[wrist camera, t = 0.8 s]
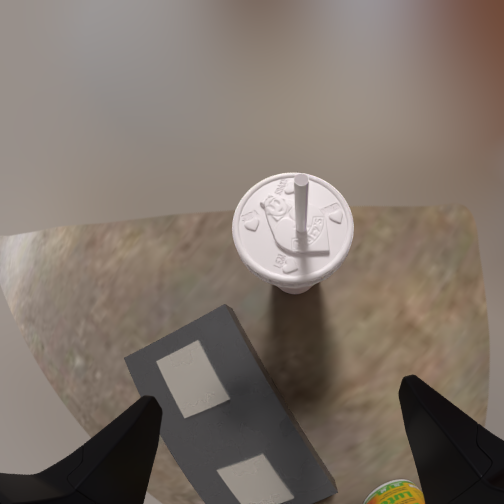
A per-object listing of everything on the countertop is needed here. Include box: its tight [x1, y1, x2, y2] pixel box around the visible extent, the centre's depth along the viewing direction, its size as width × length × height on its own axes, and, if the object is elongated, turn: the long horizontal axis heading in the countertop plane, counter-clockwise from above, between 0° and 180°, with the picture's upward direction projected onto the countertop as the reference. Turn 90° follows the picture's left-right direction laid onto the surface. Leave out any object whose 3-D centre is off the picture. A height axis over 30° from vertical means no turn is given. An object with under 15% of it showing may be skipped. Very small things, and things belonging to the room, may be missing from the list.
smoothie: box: [232, 173, 354, 294], centre depth 16 cm, size 6×6×14 cm
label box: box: [124, 304, 338, 504], centre depth 18 cm, size 18×10×3 cm, turn 29°
